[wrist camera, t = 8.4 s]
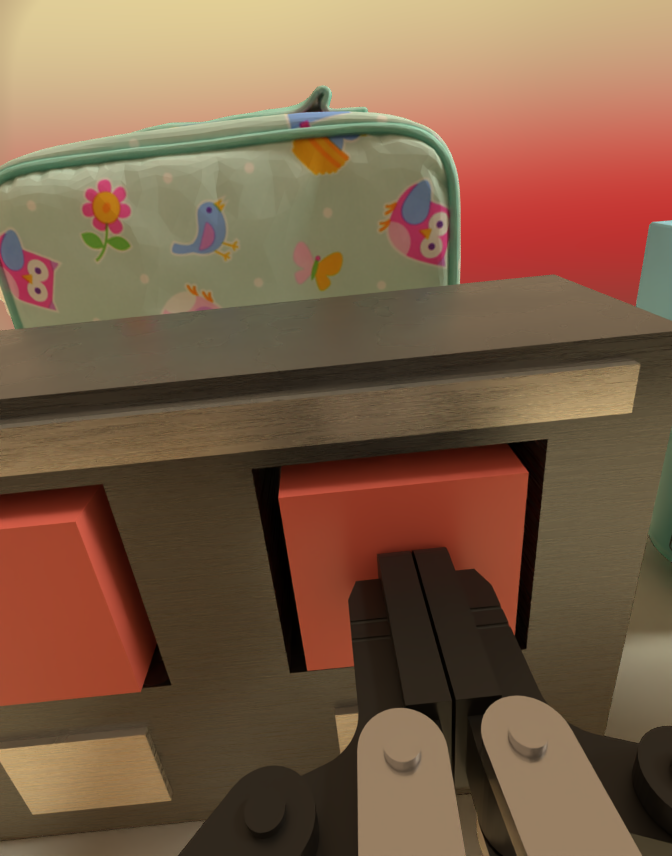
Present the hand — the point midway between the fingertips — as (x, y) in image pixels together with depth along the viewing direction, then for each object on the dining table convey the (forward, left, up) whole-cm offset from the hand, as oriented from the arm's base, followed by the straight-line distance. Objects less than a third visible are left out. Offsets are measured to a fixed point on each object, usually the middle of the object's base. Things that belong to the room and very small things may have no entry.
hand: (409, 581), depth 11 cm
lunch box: (-3, -25, -9) cm, 27 cm away
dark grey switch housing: (+3, -5, -9) cm, 11 cm away
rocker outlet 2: (-1, -2, -2) cm, 4 cm away
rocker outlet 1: (+8, -5, -2) cm, 10 cm away
